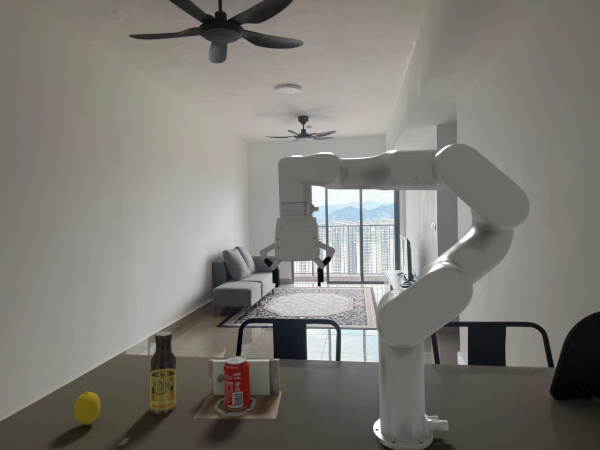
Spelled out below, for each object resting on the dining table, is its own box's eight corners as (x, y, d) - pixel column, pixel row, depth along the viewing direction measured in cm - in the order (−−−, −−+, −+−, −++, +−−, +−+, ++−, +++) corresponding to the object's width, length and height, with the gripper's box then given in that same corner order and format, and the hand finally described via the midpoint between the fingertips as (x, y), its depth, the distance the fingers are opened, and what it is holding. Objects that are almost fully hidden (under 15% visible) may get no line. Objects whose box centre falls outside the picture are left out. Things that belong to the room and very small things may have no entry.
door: (274, 392, 104) (274, 359, 104) (273, 397, 102) (272, 362, 101) (215, 393, 105) (213, 359, 105) (212, 397, 102) (211, 363, 102)
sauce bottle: (148, 420, 94) (145, 338, 93) (151, 408, 100) (148, 331, 99) (177, 416, 96) (174, 335, 95) (178, 404, 102) (175, 328, 101)
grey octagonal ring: (258, 397, 102) (257, 394, 102) (251, 417, 92) (251, 413, 92) (221, 398, 102) (220, 395, 102) (210, 417, 93) (210, 413, 93)
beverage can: (252, 401, 100) (251, 355, 100) (247, 413, 94) (245, 364, 93) (228, 400, 101) (227, 354, 100) (221, 413, 94) (220, 364, 94)
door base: (281, 395, 105) (280, 358, 105) (276, 422, 91) (274, 380, 91) (210, 395, 106) (209, 359, 106) (193, 422, 92) (192, 380, 92)
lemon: (95, 416, 97) (93, 384, 96) (105, 423, 93) (103, 390, 93) (70, 426, 92) (69, 392, 92) (80, 434, 89) (79, 399, 89)
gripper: (333, 210, 92) (335, 282, 93) (260, 212, 93) (263, 284, 93) (334, 209, 85) (336, 288, 85) (255, 212, 86) (258, 290, 86)
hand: (298, 286), depth 89 cm, fingers open, 9 cm apart
